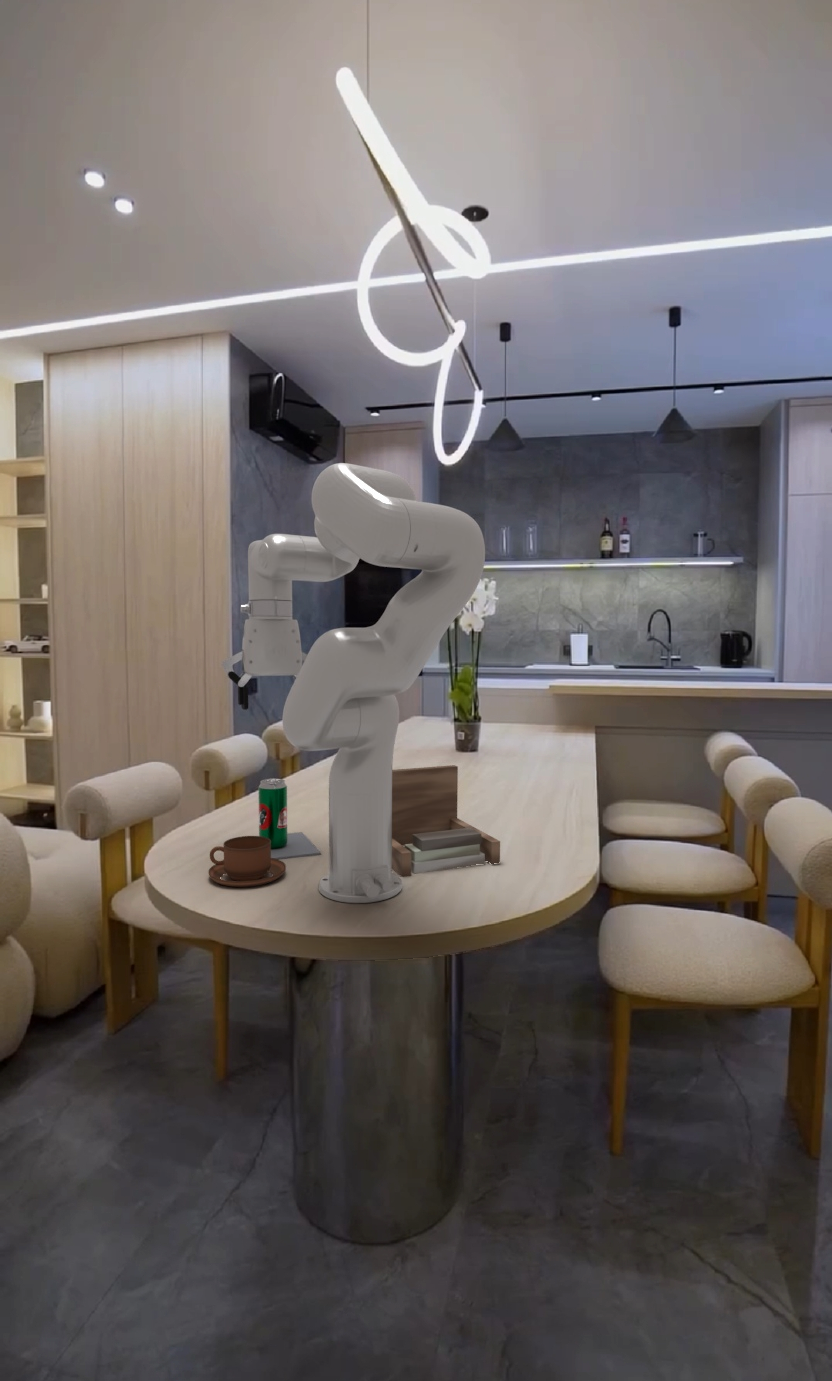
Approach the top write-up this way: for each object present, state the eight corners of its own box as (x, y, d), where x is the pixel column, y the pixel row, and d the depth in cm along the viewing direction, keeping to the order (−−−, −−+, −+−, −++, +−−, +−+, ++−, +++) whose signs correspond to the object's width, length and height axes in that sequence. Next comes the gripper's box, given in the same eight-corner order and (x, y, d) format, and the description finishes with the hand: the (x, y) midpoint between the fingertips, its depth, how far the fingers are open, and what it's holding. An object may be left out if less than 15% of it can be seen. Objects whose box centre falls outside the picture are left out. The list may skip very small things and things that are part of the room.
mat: (321, 855, 125) (321, 852, 125) (240, 865, 119) (240, 861, 119) (301, 834, 138) (301, 831, 138) (228, 842, 132) (228, 839, 132)
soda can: (284, 850, 126) (283, 783, 125) (256, 849, 126) (255, 783, 125) (290, 842, 131) (289, 778, 130) (262, 841, 131) (262, 777, 130)
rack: (499, 864, 121) (501, 783, 120) (402, 877, 114) (402, 792, 113) (453, 836, 137) (454, 765, 136) (365, 846, 130) (365, 771, 129)
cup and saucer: (207, 896, 106) (206, 856, 105) (210, 870, 117) (209, 834, 117) (288, 890, 109) (288, 850, 108) (283, 865, 120) (283, 829, 120)
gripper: (223, 610, 118) (225, 711, 120) (323, 611, 125) (324, 708, 126) (217, 611, 125) (219, 707, 127) (313, 613, 132) (314, 704, 133)
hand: (272, 707), depth 126 cm, fingers open, 9 cm apart
